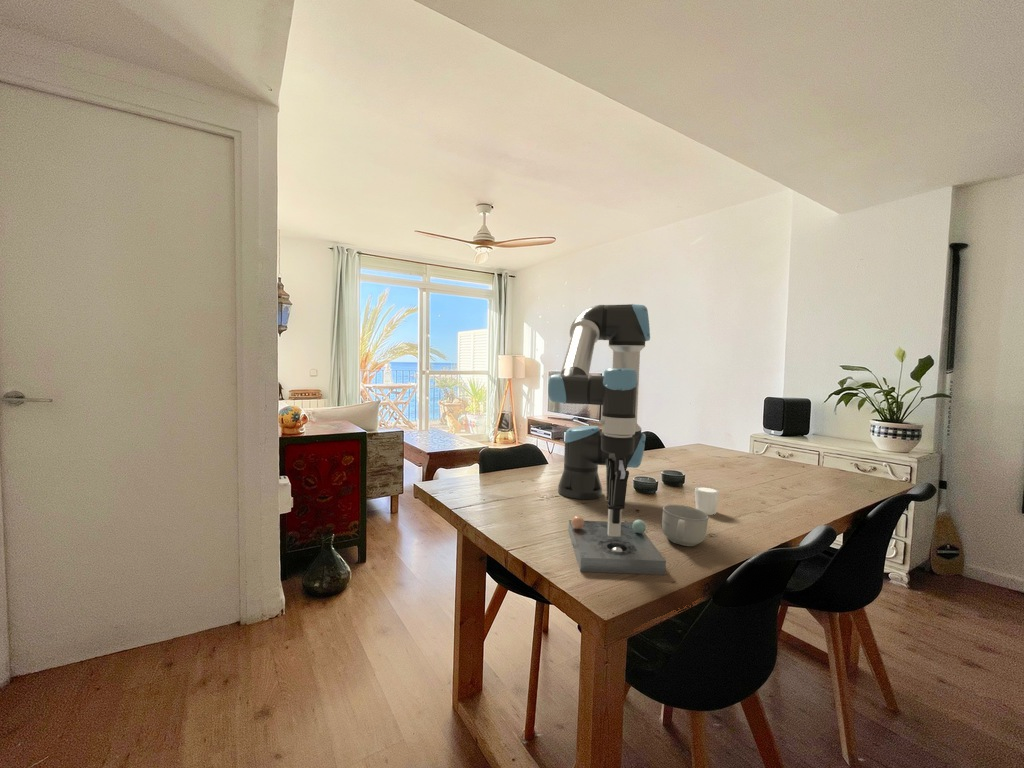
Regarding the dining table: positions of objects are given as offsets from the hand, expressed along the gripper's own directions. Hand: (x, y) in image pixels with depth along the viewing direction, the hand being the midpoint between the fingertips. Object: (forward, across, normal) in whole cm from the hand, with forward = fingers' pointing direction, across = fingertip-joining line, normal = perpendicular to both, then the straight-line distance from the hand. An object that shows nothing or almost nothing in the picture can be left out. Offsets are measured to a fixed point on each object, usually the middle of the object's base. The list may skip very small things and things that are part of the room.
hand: (613, 535), depth 98 cm
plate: (+5, -2, 0) cm, 5 cm away
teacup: (+5, -8, +19) cm, 21 cm away
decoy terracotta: (0, -7, -8) cm, 10 cm away
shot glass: (+5, -33, +36) cm, 49 cm away
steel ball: (+3, +4, 0) cm, 5 cm away
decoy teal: (0, -6, +8) cm, 10 cm away
